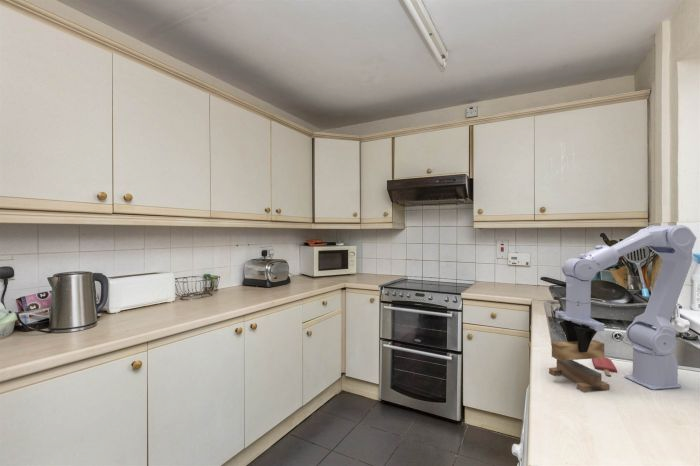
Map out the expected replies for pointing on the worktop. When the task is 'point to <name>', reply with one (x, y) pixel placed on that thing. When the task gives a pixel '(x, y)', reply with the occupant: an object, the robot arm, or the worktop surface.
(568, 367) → the ridge
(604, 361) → the popsicle
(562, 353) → the oak bar
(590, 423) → the worktop surface
